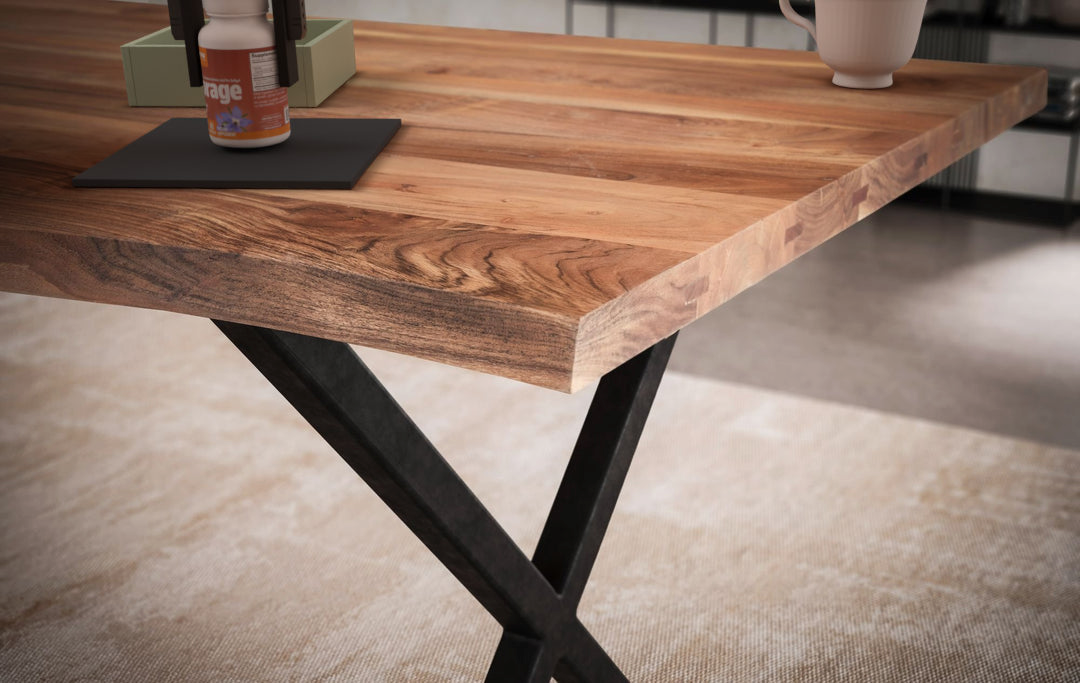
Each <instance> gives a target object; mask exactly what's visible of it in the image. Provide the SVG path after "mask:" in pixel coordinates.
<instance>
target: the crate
mask: <svg viewBox="0 0 1080 683" xmlns="http://www.w3.org/2000/svg"><path fill="white" fill-rule="evenodd" d="M267 19H268V20H269V21H271V22H273V18H267ZM204 20H205V25H206V24H208V23H209V18H204ZM306 23H307V32H306V36H305V37H304V38H303V39H301V40H295V43H296V54H297V65H298V76H299V81H298V82H296V83H295V84H294V85H292V86H291V87H287V96H288V108H317V107H318V106H319V105H321V103H323V102H324V101H325V100H326V99H327V98H328V97H330V96H331V95H332V94H333V93H335V92H336V91H337V90H338V89H339V88H340V87H341V86H343V84H345V83H346V82H347V81H349V79H350V78H352V77H353V76H354V75H355V74H357V62H356V61H357V60H356V59H357V58H356V47H355V46H356V45H355V33H354V32H355V31H354V19H353V18H306ZM120 54H121V59H122V67H123V74H124V79H125V86H126V94H127V100H128V106H129V107H162V108H163V107H164V108H165V107H166V108H167V107H174V108H176V107H177V108H178V107H179V108H180V107H183V108H185V107H187V108H188V107H192V108H193V107H195V108H198V107H199V108H200V107H201V108H203V107H204V108H206V102H205V93H204V85H203V86H201V87H190V80H189V72H188V64H187V56H186V48H185V41H184V40H175V39H174V37H173V35H172V33H171V25H170V26H167V27H165V28H161V29H160V30H157V31H154V32H152V33H149V34H147V35H144V36H142V37H140V38H138V39H135V40H132V41H130V42H127V43H124V44H122V45H120Z"/></svg>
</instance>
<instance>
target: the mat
mask: <svg viewBox="0 0 1080 683" xmlns="http://www.w3.org/2000/svg"><path fill="white" fill-rule="evenodd" d="M289 118H290V135H289V137H288V138H287V139H286V140H284V141H282V142H280V143H277V144H274V145H270V146H265V147H256V148H233V147H224V146H220V145H217V144H215V143H213V142H212V140H211V138H210V134H209V127H208V119H207V117H171V118H169V119H168V120H166V121H164V122H162V123H161V124H159V125H157V126H156V127H154V128H153V129H151V130H150V131H148V132H145V134H143V135H141V136H140V137H138V138H137V139H135V140H133V141H132V142H130V143H128V144H127V145H125V146H123V147H122V148H120V149H117V151H115V152H113V153H112V154H110V155H109V156H107V157H105V158H104V159H102V160H100V161H99V162H97V163H95V164H94V165H92V166H90V167H88V168H87V169H86V170H84V171H83V172H81V173H79V174H77V175H76V176H74V177H73V178H71V182H72V187H74V188H78V187H80V188H172V189H173V188H174V189H175V188H177V189H178V188H179V189H180V188H181V189H182V188H183V189H186V188H187V189H282V190H283V189H284V190H285V189H286V190H287V189H288V190H291V189H293V190H295V189H297V190H298V189H299V190H352V189H353V187H354V186H355V185H356V184H357V182H358V181H359V180H360V179H361V177H362V176H363V175H364V173H365V172H366V171H367V170H368V169H369V167H370V166H371V165H372V164H373V162H374V161H375V160H376V158H377V157H378V156H379V154H380V153H381V152H382V151H383V150H384V148H386V146H387V144H388V143H389V142H390V140H392V138H393V137H394V136H395V134H396V133H397V132H398V131H399V129H400V128H401V126H402V124H403V123H402V118H378V117H377V118H376V117H375V118H372V117H371V118H366V117H365V118H360V117H357V118H356V117H355V118H354V117H353V118H350V117H345V118H343V117H342V118H341V117H338V118H337V117H312V118H311V117H289Z"/></svg>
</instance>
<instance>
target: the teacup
mask: <svg viewBox="0 0 1080 683" xmlns="http://www.w3.org/2000/svg"><path fill="white" fill-rule="evenodd" d="M806 1H807V2H809V1H811V0H806ZM778 2H779V3H778V4H779V7H780V10H781V12H782V15H784V17H785V18H786V19H787V20H788V21H789V22H791V23H792V24H794V25H795V26H799V27H800V28H802V29H805V30H806V31H807V32H808V33H809V34H810V35H811V36H812V38H813V39H814V41H815V43H816V45H817V46H816V47H817V51H818V56H819V58H820V60H821V61H822V62H823V63H824V64H825V65H826V66H827V67H828V68H830V69H832V71H834V72H833V73H834V74H833V77H832V84H834V85H836V86H837V87H838V86H839V87H843V88H849V89H861V90H863V89H864V90H867V89H868V90H872V89H873V90H874V89H875V90H876V89H884V88H889V87H890V86H892V85H893V74H894V72H896V71H898V70H900V69H902V68H903V67H904V66H905V65H907V64H908V63H909V61H910V60H911V59H912V57H913V55H914V52H915V49H916V47H917V44H918V40H919V36H920V31H921V27H922V23H923V18H924V14H925V9H926V7H927V2H928V0H814V6H815V25H814V23H813V22H811V21H810V20H808V19H807V18H805V17H803V16H801V15H800V14H798V13H797V12H796V11H795V10H794V9H793V8H792V6H791V4H790V0H779V1H778Z"/></svg>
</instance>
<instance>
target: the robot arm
mask: <svg viewBox="0 0 1080 683" xmlns="http://www.w3.org/2000/svg"><path fill="white" fill-rule="evenodd" d="M270 1H271V11H272V12H271V13H272V19H273V23H274V33H275V43H276V53H277V63H278V73H279V83H280V87H291V86H292V85H294V84H295V83H296V82H298V81H299V76H298V65H297V54H296V43H295V40H301V39H303V38H304V37H305V36H306V32H307V23H306V19H307V14H306V13H307V12H306V4H305V0H270ZM166 2H167V9H168V17H169V25H170V26H171V33H172V35H173V37H174V39H175V40H184V41H185V48H186V56H187V64H188V72H189V80H190V87H201V86H203V85H204V84H203V76H202V68H201V60H200V52H199V43H198V35H199V32H200V30H201V28H202V27H203V26H204V25H205V20H204V19H205V13H204V12H205V10H204V2H203V0H166Z"/></svg>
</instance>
